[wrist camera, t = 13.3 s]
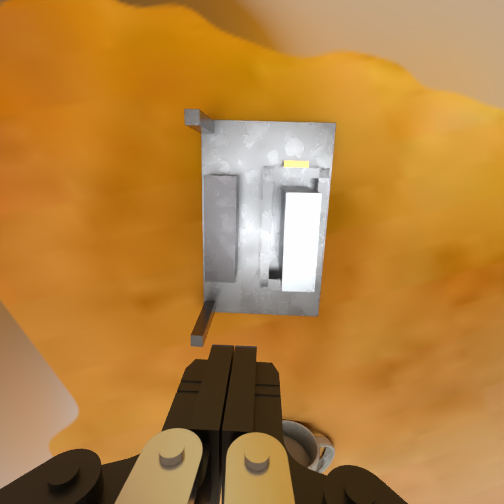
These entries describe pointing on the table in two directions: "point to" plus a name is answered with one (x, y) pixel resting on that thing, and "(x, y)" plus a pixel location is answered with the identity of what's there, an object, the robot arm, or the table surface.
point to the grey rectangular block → (298, 238)
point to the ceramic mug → (307, 446)
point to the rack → (255, 211)
